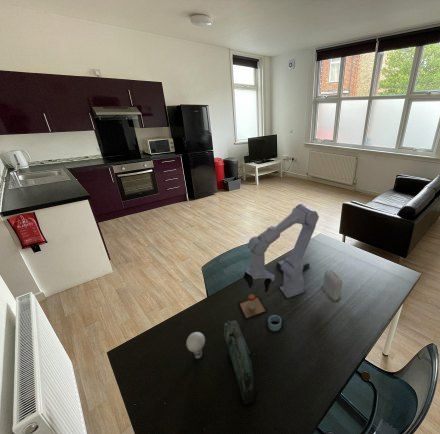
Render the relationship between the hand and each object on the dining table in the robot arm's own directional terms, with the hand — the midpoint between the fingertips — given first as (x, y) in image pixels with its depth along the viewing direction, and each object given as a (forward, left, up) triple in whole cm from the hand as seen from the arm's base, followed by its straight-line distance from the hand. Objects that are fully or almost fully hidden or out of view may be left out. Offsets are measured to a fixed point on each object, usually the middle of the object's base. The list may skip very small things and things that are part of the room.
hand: (258, 288), depth 106 cm
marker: (+4, +1, -9) cm, 10 cm away
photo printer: (-34, +8, -10) cm, 37 cm away
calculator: (-27, -16, -10) cm, 33 cm away
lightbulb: (+30, +14, -10) cm, 34 cm away
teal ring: (-1, +14, -9) cm, 16 cm away
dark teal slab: (+18, +26, -10) cm, 33 cm away
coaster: (+4, +1, -9) cm, 10 cm away
